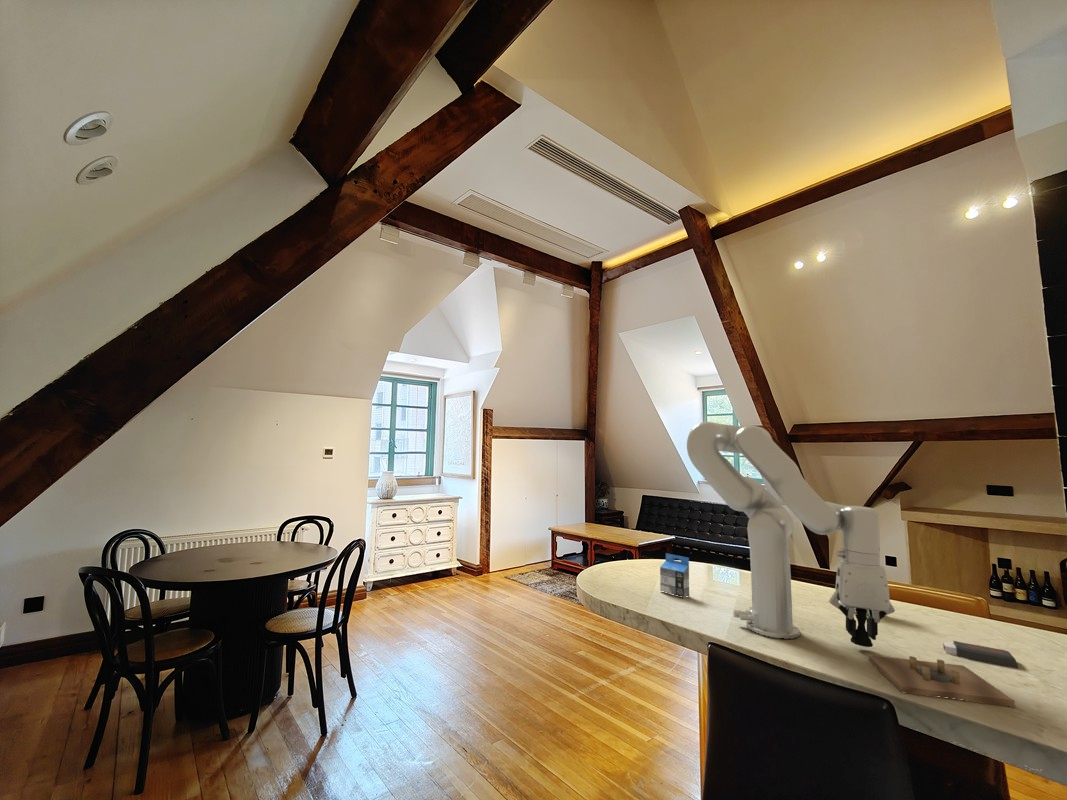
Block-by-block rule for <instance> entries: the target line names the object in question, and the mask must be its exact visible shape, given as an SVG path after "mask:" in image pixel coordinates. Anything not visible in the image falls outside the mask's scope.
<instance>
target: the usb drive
mask: <svg viewBox="0 0 1067 800" xmlns="http://www.w3.org/2000/svg"><path fill="white" fill-rule="evenodd" d="M942 644H943V645H942V649H943V651H944V653H945V654H947V655H951V654H952V655H953V656H957V657H959V658H962V659H965V660H966V659H968V660H971V661H976V662H977V661H978V662H982V663H988V664H990V665H991V664H992V665H998V666H1003V667H1008V668H1014V669H1016V670H1017V669H1019V665H1018V662H1017V659H1016V658H1015V657H1014V656H1013V654H1011V653H1010V652H1009V651H1008V650H1004V649H1000V648H994V647H990V646H989V647H988V646H982V645H977V644H972V643H966V642H962V641H956V640H953V643H952V642H947V641H942Z"/></svg>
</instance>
